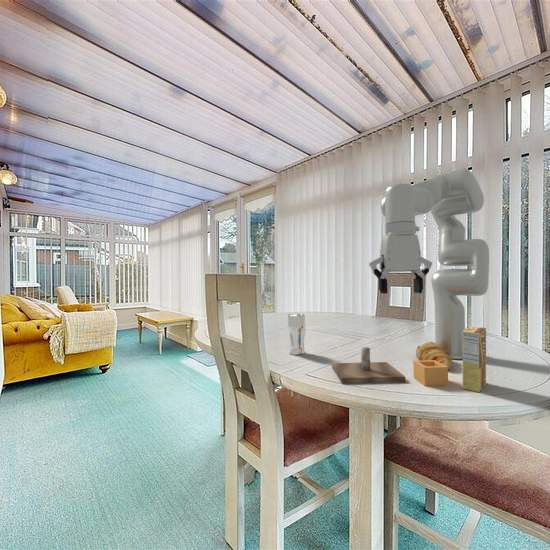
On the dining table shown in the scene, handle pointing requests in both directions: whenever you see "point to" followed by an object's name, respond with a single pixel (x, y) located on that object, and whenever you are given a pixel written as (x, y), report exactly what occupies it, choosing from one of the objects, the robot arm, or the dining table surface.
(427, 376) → the collar
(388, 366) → the post board
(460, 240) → the robot arm
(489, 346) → the dining table surface
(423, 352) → the croissant
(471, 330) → the candy box
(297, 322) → the beer glass
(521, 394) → the dining table surface
